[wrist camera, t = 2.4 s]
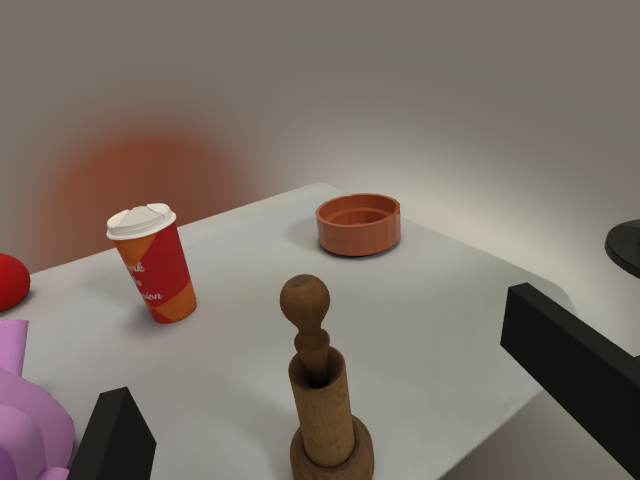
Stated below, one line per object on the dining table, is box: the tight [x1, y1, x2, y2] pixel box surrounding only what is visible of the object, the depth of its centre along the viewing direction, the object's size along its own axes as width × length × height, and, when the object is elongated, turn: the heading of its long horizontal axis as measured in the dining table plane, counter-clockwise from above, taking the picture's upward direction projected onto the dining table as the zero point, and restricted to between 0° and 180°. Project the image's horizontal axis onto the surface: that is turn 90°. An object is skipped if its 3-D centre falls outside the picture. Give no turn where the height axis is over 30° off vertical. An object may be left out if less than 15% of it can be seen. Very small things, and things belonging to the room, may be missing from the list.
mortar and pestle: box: [280, 274, 374, 480], centre depth 25 cm, size 7×6×18 cm
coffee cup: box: [107, 204, 196, 323], centre depth 47 cm, size 8×8×15 cm
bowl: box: [316, 193, 401, 256], centre depth 62 cm, size 14×14×6 cm
